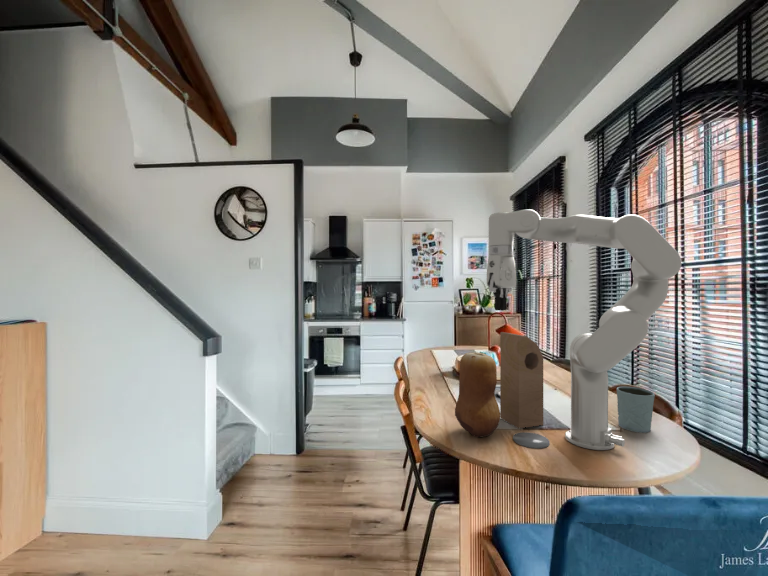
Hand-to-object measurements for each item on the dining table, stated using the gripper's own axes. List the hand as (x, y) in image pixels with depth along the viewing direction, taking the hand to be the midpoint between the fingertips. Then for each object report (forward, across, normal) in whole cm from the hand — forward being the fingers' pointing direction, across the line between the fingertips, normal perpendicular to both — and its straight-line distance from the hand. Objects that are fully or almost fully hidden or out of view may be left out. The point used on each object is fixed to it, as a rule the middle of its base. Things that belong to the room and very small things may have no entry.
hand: (500, 310), depth 115 cm
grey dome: (+38, 0, -10) cm, 40 cm away
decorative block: (+38, +12, 0) cm, 40 cm away
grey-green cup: (+38, +36, -26) cm, 59 cm away
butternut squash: (+38, -8, +3) cm, 39 cm away
